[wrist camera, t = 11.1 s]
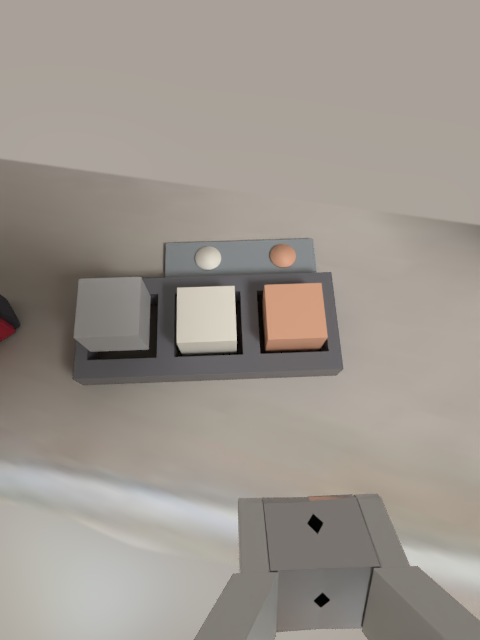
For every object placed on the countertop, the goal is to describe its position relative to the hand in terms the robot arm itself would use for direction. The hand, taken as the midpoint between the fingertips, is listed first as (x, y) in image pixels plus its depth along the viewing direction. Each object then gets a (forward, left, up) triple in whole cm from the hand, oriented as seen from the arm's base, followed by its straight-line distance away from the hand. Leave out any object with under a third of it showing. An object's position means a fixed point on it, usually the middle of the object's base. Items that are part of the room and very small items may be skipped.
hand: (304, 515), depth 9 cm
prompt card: (0, -20, -26) cm, 32 cm away
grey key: (+10, -13, -22) cm, 28 cm away
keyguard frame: (+3, -13, -26) cm, 29 cm away
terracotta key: (-4, -13, -25) cm, 28 cm away
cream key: (+3, -13, -25) cm, 28 cm away
